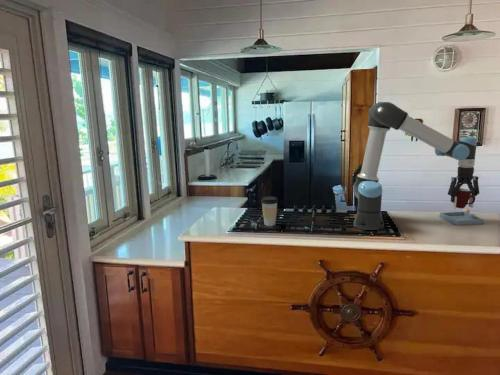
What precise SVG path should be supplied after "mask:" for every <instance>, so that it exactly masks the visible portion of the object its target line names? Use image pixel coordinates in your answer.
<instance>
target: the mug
mask: <svg viewBox="0 0 500 375" xmlns="http://www.w3.org/2000/svg"><path fill="white" fill-rule="evenodd" d="M456 197H457V201H456V209H465V207H466V206H467V205H469V204H473V203H475V202H476V196H475V197H474V196H473V195H472V194H471V190H469V188H468V189H467V188H463V187H460V189H459V190H458V192H457V194H456ZM470 197H472V198H473V201H472V202H471V203H469V198H470ZM473 205H474V204H473Z"/></svg>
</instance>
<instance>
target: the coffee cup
mask: <svg viewBox="0 0 500 375" xmlns="http://www.w3.org/2000/svg"><path fill="white" fill-rule="evenodd" d="M260 203H261V207H262V209H261V210H262V217H263V222H264V226H265V225H266V226H265V227H274V226H276V219H277V212H278V211H277V210H278V203H279V200H278V199H277V197H275V196H263V197H261V200H260ZM273 225H274V226H273Z"/></svg>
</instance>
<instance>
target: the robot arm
mask: <svg viewBox="0 0 500 375" xmlns="http://www.w3.org/2000/svg"><path fill="white" fill-rule="evenodd" d="M367 128H369V131H368V132H369V133H368V137H367V142H366V146H365V152H364V155H363V161H362V165H361V170H360V173H358V174H357V176H356V180H355V182H354V183H353V187H352V192H353V194H354V196H355V198H357V213H356V214H355V218H354V220H353V227H354V228H355V227H356V229H357V228H358V229H357V230H360V229H362V230H361V231H365V230H378V229H382V228H383V227H384V226H385V223H384V219H383V216H382V200H383V199H382V195H383V187H382V184H381V183H379V177H378V172H379V167H380V164H381V163H380V162H381V159H382V153H383V149H384V144H385V139H386V135H387V132H389V131H391V129H394V130H395V131H399V130H400V131H402V132H404V133H406V134H408V135H409V136H412V137H414V138H415V139H417V140H419V141H421V142H422V143H424V144H426V145H428V146H430V147H432V148H433V149H434V154H435V155H436V156H438V157H439V156H441V157H449V158H452V159H455V160H456V161H457V160H458V161H457V165H458V167H457V176H455V177H454V176H452V177H451V182H450V186H449V188H448V190H447V191H448V192H447V195H448V196H450V203H451V205H450V206H451V208H452V209H454V210H455V209H457V208H456V201H457V197H456V194H457V192H458V190H459V189H460V188H462V186H463V185H467V188H468V190H471V195H473V196H474V197H475V198H476V197H477V196H478V195H480V187H479V176H478V175H477V176H476V175H474V174H475V173H474V172H475V165H476V164H475V162H476V153H477V151H476V150H477V147H478V146H477V144H478V143H477V142H478V141H477V138H476V137H474V136H473V137H472V136H462V137H460V140H458V141H457V140H454V139H452V138H451V137H448V136H447V135H445V134H443V133H441V132H440V131H437V130H436V129H433V128H432V127H430V126H428V125H427V124H425V123H422V122H421V121H419V120H417V119H416V118H413V117H412V116H410V115H409V112H407V111H405V110H403V109H401V108H400V107H399V106H398V105H396V104H394V103H392V102H389V101H379V102H377V103H374V104H373V105H372V106H370V108H369V111H368V123H367ZM472 201H473V198H472V197H470V198H469V201H468V203H471V202H472ZM474 203H475V202H474ZM474 203H473V204H468V207H469V208H474ZM384 228H385V227H384ZM384 228H383V229H384ZM383 229H382V230H383ZM378 231H379V230H378Z"/></svg>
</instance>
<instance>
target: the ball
mask: <svg viewBox="0 0 500 375" xmlns="http://www.w3.org/2000/svg"><path fill="white" fill-rule="evenodd" d="M463 211H465V212H467V213H469V214H471V213H470V208H465V207H464V208H462V212H463Z"/></svg>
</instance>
